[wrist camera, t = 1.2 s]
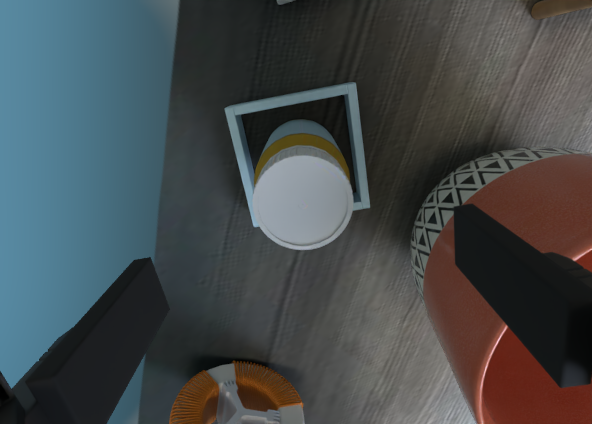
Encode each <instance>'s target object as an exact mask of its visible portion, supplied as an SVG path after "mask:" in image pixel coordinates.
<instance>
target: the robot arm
mask: <svg viewBox="0 0 592 424" xmlns="http://www.w3.org/2000/svg"><path fill="white" fill-rule="evenodd" d="M453 211H454V248H455V265H456V266H457V267H458V268H459V270H460V271H461V272H462V273H463V274H464V275H465V277H466V278H467V279H468V280H469V281H470V283H471V284H472V285H473V286H474V287H475V288H476V290H477V291H478V292H479V293H480V294H481V295H482V297H483V298H484V299H485V300H486V301H487V303H488V304H489V305H490V306H491V307H492V308H493V310H494V311H495V312H496V313H497V314H498V315H499V317H500V318H501V319H502V320H503V321H504V322H505V324H506V325H507V326H508V327H509V328H510V330H511V331H512V332H513V333H514V334H515V335H516V337H517V338H518V339H519V340H520V341H521V342H522V344H523V345H524V346H525V347H526V348H527V349H528V351H529V352H530V353H531V354H532V355H533V357H534V358H535V359H536V360H537V361H538V362H539V364H540V365H541V366H542V367H543V368H544V369H545V371H546V372H547V373H548V374H549V375H550V376H551V378H552V379H553V380H554V381H555V382H556V384H557V385H558V386H559V387H560V388H565V387H573V386H581V385H588V384H591V377H592V272H590V271H589V270H587V269H584V268H583V266H581V265H580V264H578V263H577V262H575V261H574V260H572V259H571V258H568V257H565V256H563V255H560V254H557V253H554V252H547V253H541V252H540V251H538V250H537V249H536V248H534V247H533V246H531V245H530V244H529V243H527V242H526V241H524V240H523V239H522V238H520V237H519V236H517V235H516V234H515V233H513V232H512V231H510V230H509V229H507V228H506V227H505V226H503V225H502V224H500V223H499V222H498V221H496V220H495V219H493V218H492V217H491V216H489V215H488V214H486V213H485V212H484V211H482V210H481V209H479V208H478V207H477V206H475V205H474V204H466V205H460V206H454V207H453ZM169 310H170V308H169V305H168V303H167V300H166V297H165V295H164V292H163V289H162V287H161V284H160V281H159V279H158V276H157V273H156V271H155V268H154V265H153V263H152V260H151V258H150V257H149V258H143V259H138V260H134V261H133V262H132V263H131V264H130V265H129V266H128V267H127V268H126V270H125V271H124V272H123V273H122V274H121V275H120V276H119V277H118V278H117V280H116V281H115V282H114V283H113V284H112V285H111V286H110V287H109V288H108V289H107V291H106V292H105V293H104V294H103V295H102V296H101V297H100V299H98V301H97V302H96V303H95V304H94V305H93V306H92V307H91V308H90V310H89V311H88V312H87V313H86V314H85V315H84V316H83V317H82V318H81V320H80V321H79V322H78V323H77V324H76V325H75V326H74V327H73V328H71V329H70V330H69V331H67V332H66V333H65V334H63V335H62V336H61V337H59V338H58V339H57V340H56V341H55V342H54V344H53V345H52V346H51V347H50V348H49V349H48V352H45V353H44V354H43V356H42V357H41V358H40V359H39V361H38V362H36V363H35V364H34V365H33V366H32V367H31V369H30V370H29V371H28V372H27V373H26V374H25V375H24V376H23V377H22V378H21V379H20V380H19V382H18V383H17V384H16V385H15V386H14V387H13V388H12V389H11V388H10V386H9V384H8V383H7V381H6V380H5V378H4V377H3V375H2V373H1V372H0V424H107V422H108V420H109V418H110V416H111V415H112V413H113V411H114V409H115V407H116V405H117V404H118V402H119V400H120V398H121V396H122V395H123V393H124V391H125V389H126V387H127V386H128V384H129V382H130V380H131V378H132V377H133V375H134V373H135V371H136V369H137V367H138V366H139V364H140V362H141V360H142V358H143V357H144V355H145V353H146V351H147V349H148V348H149V346H150V344H151V342H152V340H153V338H154V337H155V335H156V333H157V331H158V329H159V328H160V326H161V324H162V322H163V320H164V319H165V317H166V315H167V313H168V311H169Z"/></svg>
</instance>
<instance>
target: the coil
mask: <svg viewBox="0 0 592 424" xmlns="http://www.w3.org/2000/svg"><path fill="white" fill-rule="evenodd" d="M200 374H201V375H200ZM294 392H295V393H294ZM302 408H303V403H302V400H301V399H300V396H299V394H298V393H297V391H296V390H295V388H293V386H292V385H291V384H290V382H288V380H286V379H285V378H283V376H280V374H277V372H275V373H274V370H272V371H271V368H270V369H269V370H268V367H266V369H265V366H263V367H262V365H260V366H259V364H257V365H256V366H255V363H254V364H253V365H252V362H250V364H249V362H247V364H245V361H244V362H243V364H242V361H240V363H239V362H238V361H237V362H236V361H233V362H232V364H226V365H220V366H218V367H215V368H212V369H209V370H207V371H205V370H203V371H202V372H199V374H196V376H194V377H193V378H192V379H190V381H188V382H187V384H185V386H184V387H183V388H182V390H181V391H180V393H179V394H178V396H177V397H176V400H175V402H174V404H173V407H172V411H171V415H170V421H169V424H211V423H212V422H214V420H215V419H216V417H217V421H218V424H305V423H304V415H303V409H302Z"/></svg>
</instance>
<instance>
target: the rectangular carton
mask: <svg viewBox="0 0 592 424" xmlns="http://www.w3.org/2000/svg"><path fill="white" fill-rule="evenodd" d="M292 1H295V0H277V3H278V4H279V5H282V4H285V3H289V2H292Z"/></svg>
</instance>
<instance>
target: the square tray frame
mask: <svg viewBox="0 0 592 424" xmlns="http://www.w3.org/2000/svg"><path fill="white" fill-rule="evenodd" d="M339 95H344V98H345V106H346V114H347V121H348V129H349V137H350V145H351V153H352V160H353V168H354V176H355V184H356V192H357V193H356V192H355V193H352V194H353V201H354V203H353V210H352V211H354V210H360V209H365V208H370V200H369V192H368V183H367V174H366V166H365V157H364V148H363V140H362V131H361V122H360V114H359V105H358V96H357V88H356V83H354V82H348V83H343V84H338V85H332V86H327V87H322V88H317V89H312V90H307V91H302V92H296V93H291V94H286V95H281V96H276V97H271V98H266V99H260V100H255V101H250V102H245V103H240V104H235V105H230V106H228V107H226V108H225V113H226V117H227V121H228V125H229V129H230V133H231V137H232V141H233V145H234V149H235V153H236V157H237V161H238V165H239V170H240V174H241V178H242V182H243V186H244V190H245V194H246V198H247V202H248V206H249V210H250V214H251V218H252V222H253V226H254V227H258V226H259V225H258V223H257V221H256V218H255V216H254V212H253V207H252V204H253V202H252V199H253V192H254V188H255V187H254V176H255V174H254V170H253V165H252V161H251V157H250V152H249V148H248V144H247V140H246V135H245V131H244V127H243V122H242V118H241V114H246V113H251V112H256V111H261V110H267V109H272V108H277V107H282V106H287V105H293V104H298V103H303V102H308V101H313V100H319V99H324V98H329V97H334V96H339Z"/></svg>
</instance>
